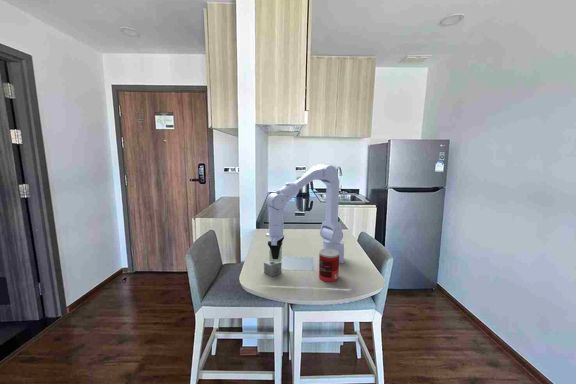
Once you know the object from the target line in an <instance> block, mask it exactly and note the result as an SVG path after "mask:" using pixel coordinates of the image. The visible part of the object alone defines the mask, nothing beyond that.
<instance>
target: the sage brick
mask: <svg viewBox="0 0 576 384" xmlns="http://www.w3.org/2000/svg"><path fill="white" fill-rule="evenodd" d="M282 258H283V246H281V248H280V252H279V258H278V259H273V258H272V254H271V250H270V249H269V260H270V261H272V262H282Z"/></svg>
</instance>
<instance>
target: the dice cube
mask: <svg viewBox="0 0 576 384" xmlns="http://www.w3.org/2000/svg"><path fill="white" fill-rule="evenodd" d="M281 262H282V261H281ZM281 262H272V261H270V259H269V260H268V261H264V262H263V273H265V274H266V275H268V276H271V277H274V276H278V275H279V274H282V270H281Z"/></svg>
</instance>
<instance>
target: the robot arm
mask: <svg viewBox="0 0 576 384" xmlns="http://www.w3.org/2000/svg"><path fill="white" fill-rule="evenodd" d="M338 174H339V170H338V169H337V168H336V167H335V166H334V165H332V164H331V165H330V164H329V165H328V164H327V165H326V164H320V163H317V164H315V165H313V166H311V167H310V169H309V170H308V171H307V172H305V173H304V174H303V175H301V176H300V177H299V178H298V179H296V181H294V182H293V181H290V182H288V181H287V182H286V183H284V184H285V185H284V186H282V187H280V189H276V190H275V191H276V192H271V193H270V194H269V195H267V198H266V200H265V204H266V205H267V207H268V232H267V233H266V234H265V237H267V238H269V241H267V246H268V247H269V250H271V254H272V258H273V259H278V258H279V252H280V248H281V247H283V241H284V239H285V234H284V209H285V208H286V206H287V203H288V202H290V201H291V200H292V199H293V198H295V196H297V195H298V194H299V193H300V189H302V188H304V187H305V186H307V185H308V184H310V183H311V182H313V181H314V180H316V181H321V182H322V183H323V184H324V185H325V186H326V190H325V195H326V196H325V217H324V218H325V219H324V221H322V223H321V227H320V231H319V235H320V237H321V238H322V239H321V240H322V249H335V250H337V251H338V252H339V264H344V258H345V254H344V253H345V243H344V242H343V241H342V240H343V238H344V233H343V228H342V227H343V226H342V225H341V223H340V222H339V221H338V220H339V201H340V200H339V199H340V180H339V179H340V178H339V175H338Z"/></svg>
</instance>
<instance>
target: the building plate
mask: <svg viewBox="0 0 576 384" xmlns="http://www.w3.org/2000/svg"><path fill="white" fill-rule="evenodd" d="M284 270H285V271H305V272H306V271H309V272H314V257H311V256H291V255H289V256H286V255H285V256H284V255H282V259H281V271H284Z"/></svg>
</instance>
